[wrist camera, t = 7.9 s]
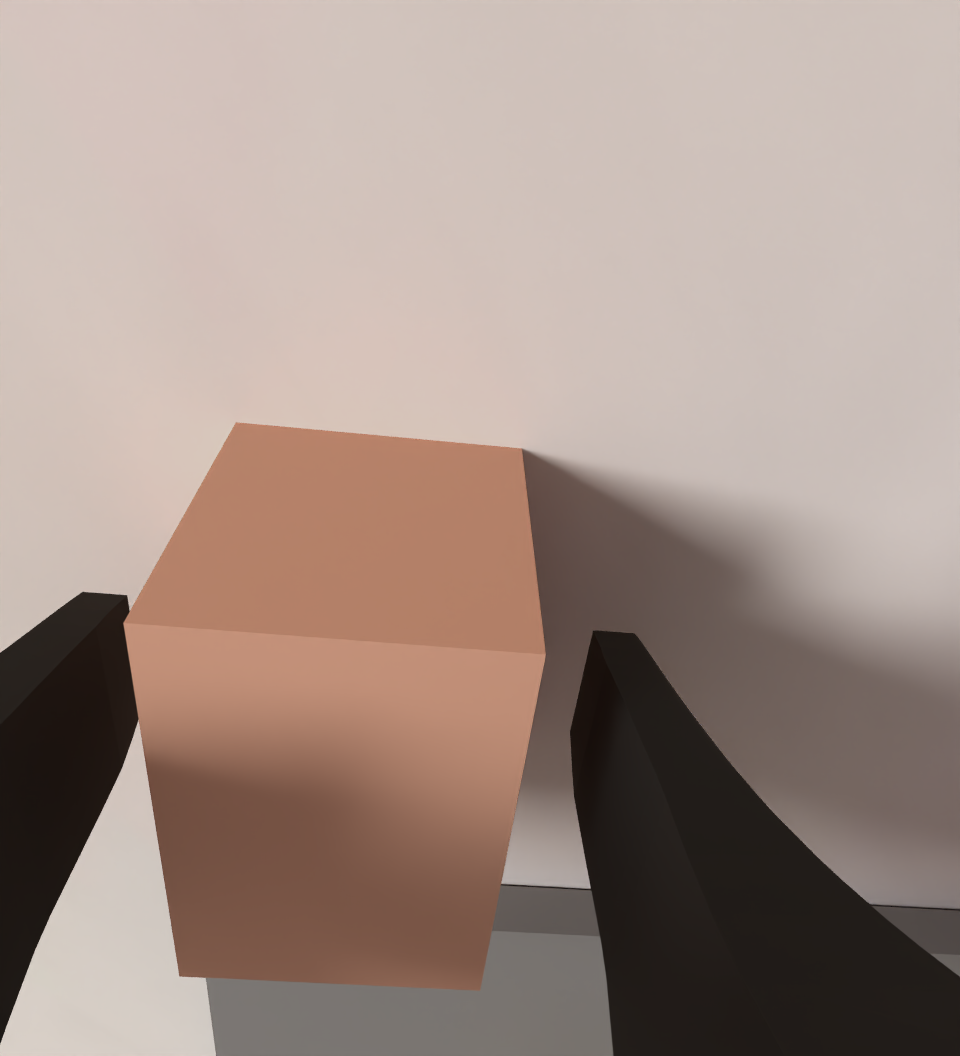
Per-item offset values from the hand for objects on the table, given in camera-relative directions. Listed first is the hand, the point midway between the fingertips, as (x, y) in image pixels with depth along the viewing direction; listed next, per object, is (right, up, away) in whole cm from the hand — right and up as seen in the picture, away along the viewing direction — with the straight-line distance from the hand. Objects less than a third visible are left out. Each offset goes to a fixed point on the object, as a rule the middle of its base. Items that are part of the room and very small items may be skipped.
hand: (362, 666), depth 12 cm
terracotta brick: (0, +1, +1) cm, 2 cm away
